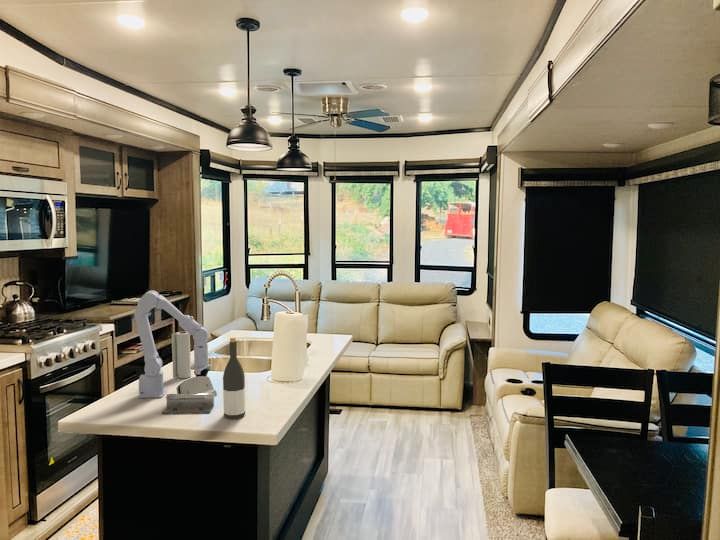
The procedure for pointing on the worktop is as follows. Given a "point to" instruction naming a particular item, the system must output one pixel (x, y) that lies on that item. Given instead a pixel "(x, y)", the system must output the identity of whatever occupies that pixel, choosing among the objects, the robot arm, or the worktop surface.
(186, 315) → the robot arm
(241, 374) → the wine bottle
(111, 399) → the worktop surface
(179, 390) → the beige piece
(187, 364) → the paper towel roll
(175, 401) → the fixed leaf
